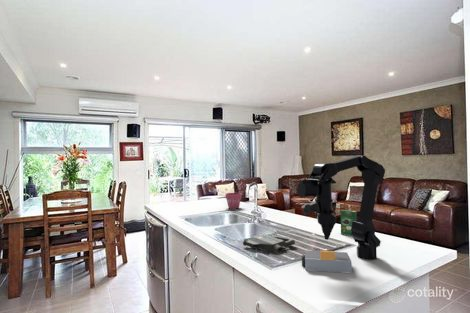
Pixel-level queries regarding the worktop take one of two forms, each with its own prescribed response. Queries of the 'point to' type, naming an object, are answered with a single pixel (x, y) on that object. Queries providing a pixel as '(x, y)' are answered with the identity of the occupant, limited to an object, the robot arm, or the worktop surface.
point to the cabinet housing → (317, 255)
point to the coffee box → (347, 221)
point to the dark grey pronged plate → (269, 243)
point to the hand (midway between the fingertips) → (325, 236)
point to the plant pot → (233, 200)
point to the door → (328, 263)
